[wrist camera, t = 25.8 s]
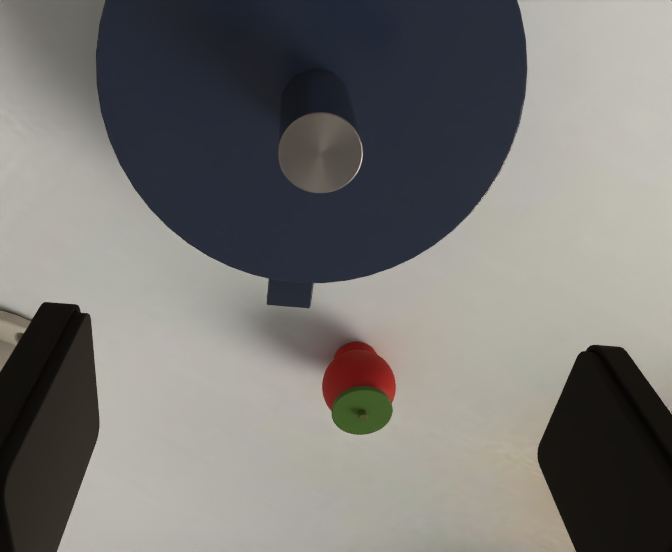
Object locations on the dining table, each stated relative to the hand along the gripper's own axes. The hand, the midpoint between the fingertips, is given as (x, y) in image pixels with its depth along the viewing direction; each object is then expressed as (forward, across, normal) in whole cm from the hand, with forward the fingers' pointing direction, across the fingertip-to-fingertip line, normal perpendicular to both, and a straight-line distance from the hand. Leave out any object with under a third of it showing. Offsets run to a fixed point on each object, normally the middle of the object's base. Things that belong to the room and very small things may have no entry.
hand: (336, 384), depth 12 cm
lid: (+18, 0, 0) cm, 18 cm away
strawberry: (+24, -5, +19) cm, 31 cm away
